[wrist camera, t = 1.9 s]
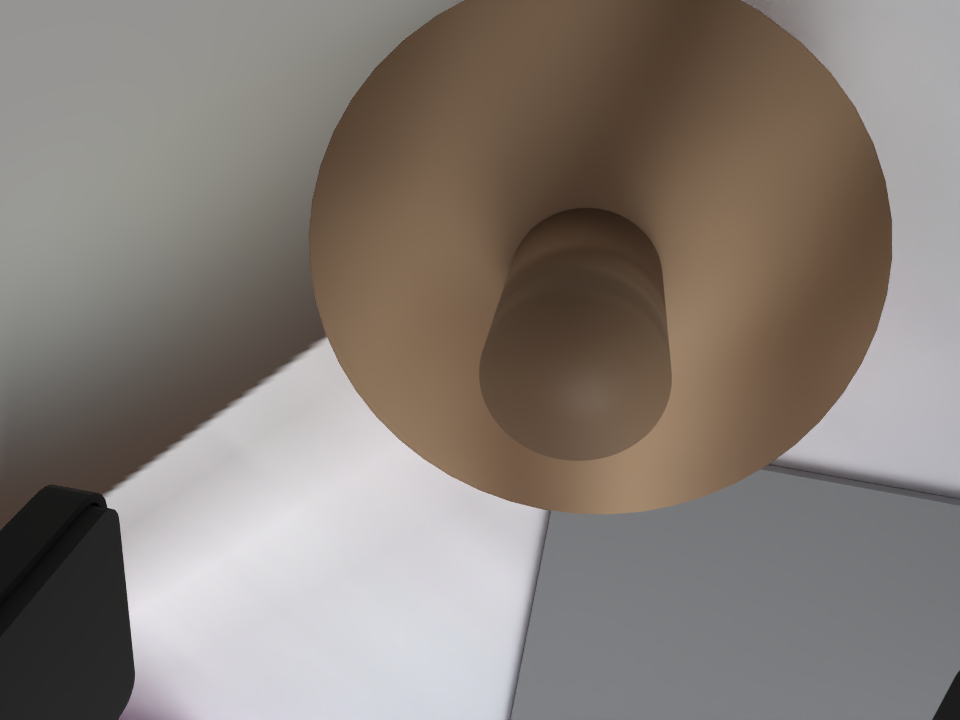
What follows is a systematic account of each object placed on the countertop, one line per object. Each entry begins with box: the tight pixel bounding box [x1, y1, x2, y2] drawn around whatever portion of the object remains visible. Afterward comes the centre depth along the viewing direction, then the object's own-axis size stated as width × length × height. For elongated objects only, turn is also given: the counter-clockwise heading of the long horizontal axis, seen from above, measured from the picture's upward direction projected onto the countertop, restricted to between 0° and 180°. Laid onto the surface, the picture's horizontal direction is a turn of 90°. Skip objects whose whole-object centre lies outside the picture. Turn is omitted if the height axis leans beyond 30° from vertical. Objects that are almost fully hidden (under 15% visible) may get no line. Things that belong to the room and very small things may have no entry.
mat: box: [510, 465, 960, 720], centre depth 34 cm, size 17×17×1 cm
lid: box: [309, 0, 892, 514], centre depth 19 cm, size 14×14×6 cm
